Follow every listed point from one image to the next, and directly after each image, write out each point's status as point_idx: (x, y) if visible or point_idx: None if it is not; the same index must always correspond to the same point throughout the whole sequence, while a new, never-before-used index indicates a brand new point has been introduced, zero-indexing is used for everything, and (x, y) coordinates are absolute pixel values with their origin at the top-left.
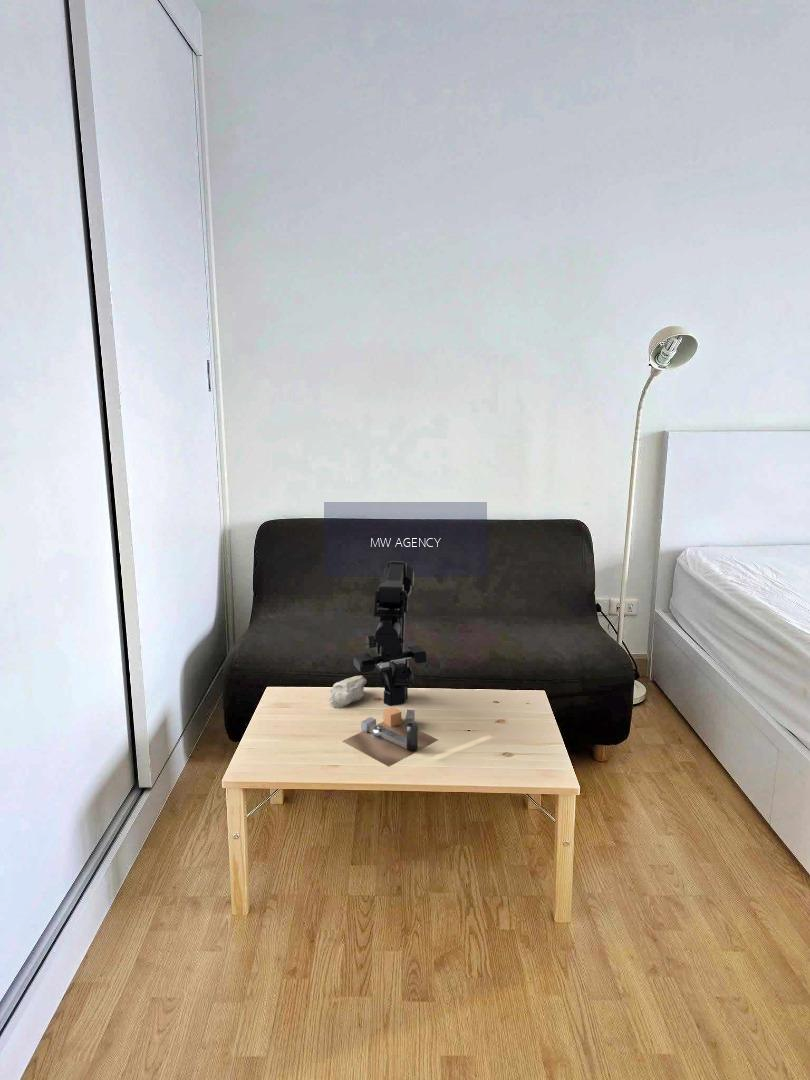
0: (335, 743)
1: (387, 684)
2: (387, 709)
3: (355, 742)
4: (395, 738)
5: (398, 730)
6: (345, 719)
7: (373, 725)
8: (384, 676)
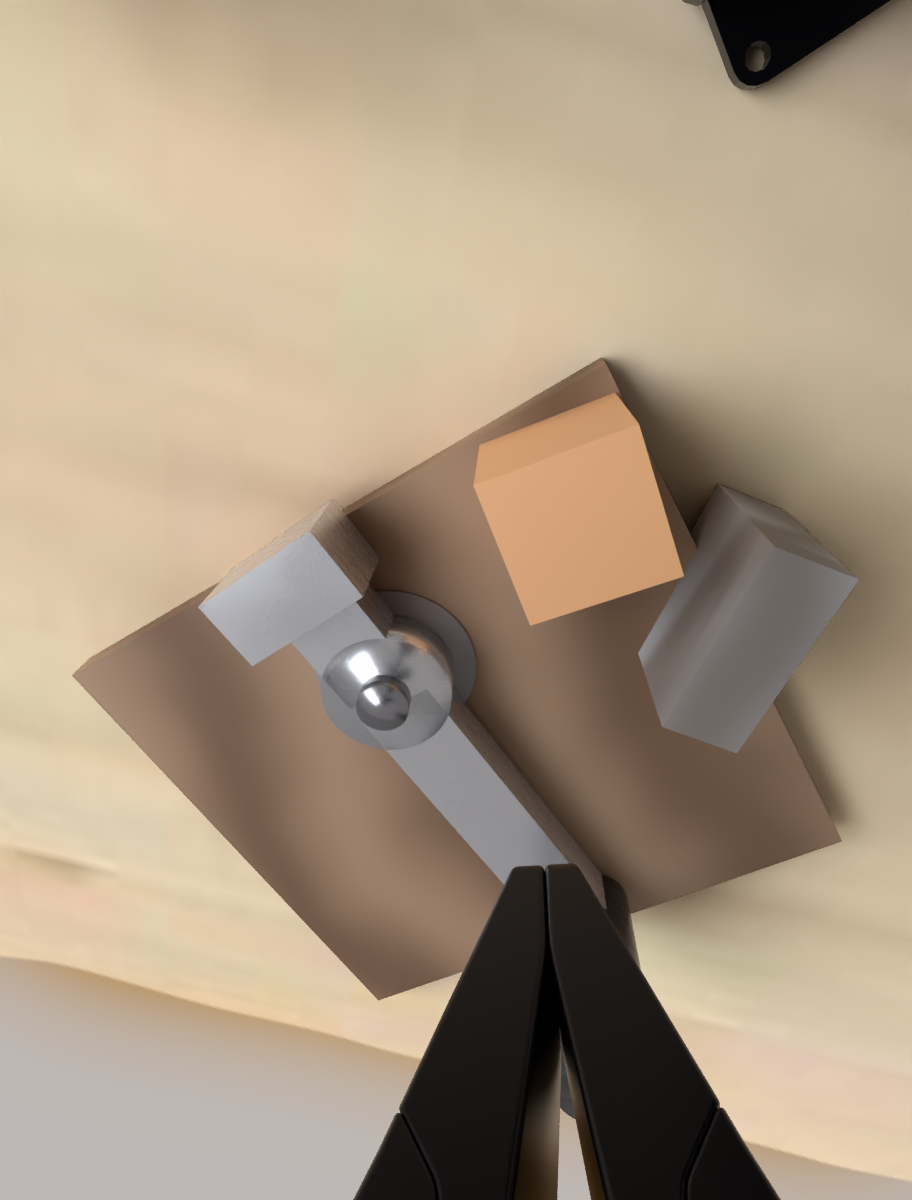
0: (33, 626)
1: (486, 938)
2: (532, 480)
3: (180, 719)
4: (485, 856)
5: (578, 638)
6: (91, 182)
7: (336, 623)
8: (393, 1131)
